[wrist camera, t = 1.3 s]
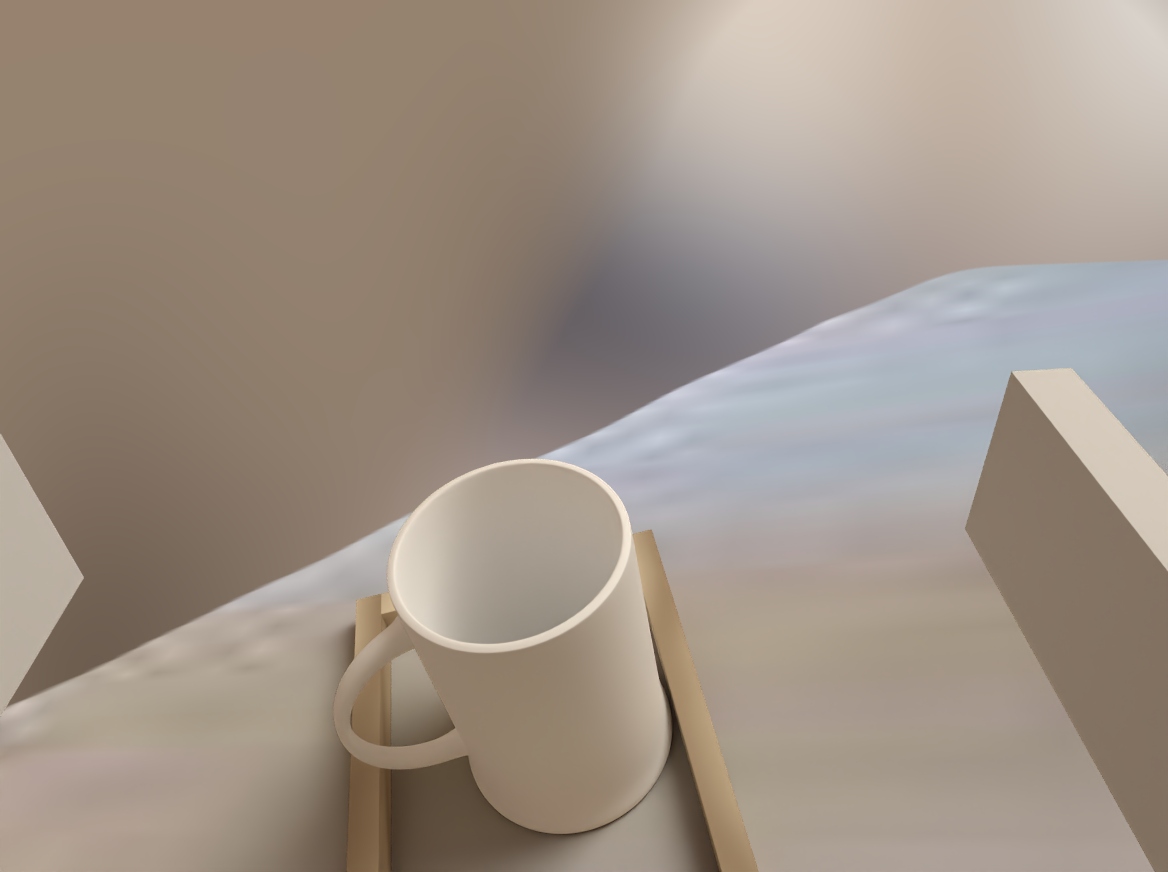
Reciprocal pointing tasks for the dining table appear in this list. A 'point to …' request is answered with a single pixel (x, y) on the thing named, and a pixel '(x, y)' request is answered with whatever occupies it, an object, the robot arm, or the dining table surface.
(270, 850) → the dining table surface
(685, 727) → the pocket frame
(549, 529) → the mug
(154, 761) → the dining table surface
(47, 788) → the dining table surface
